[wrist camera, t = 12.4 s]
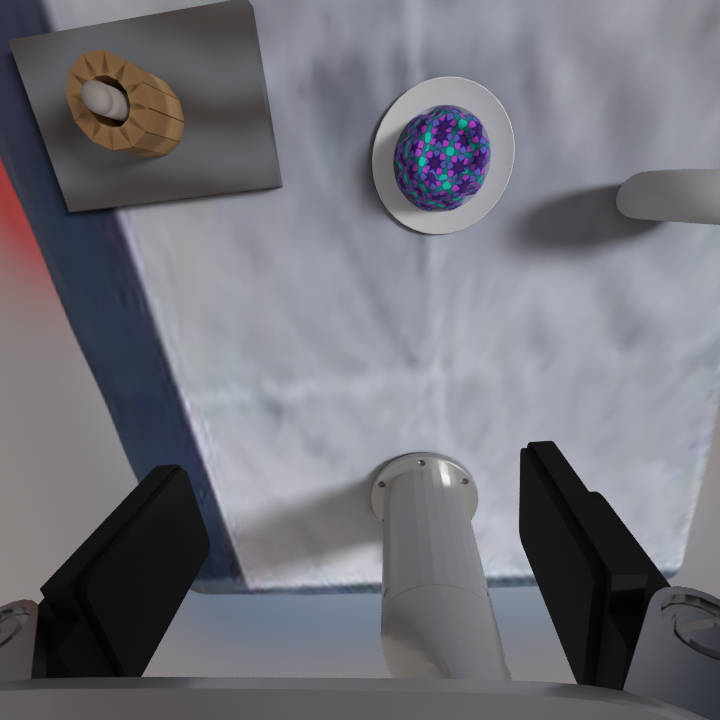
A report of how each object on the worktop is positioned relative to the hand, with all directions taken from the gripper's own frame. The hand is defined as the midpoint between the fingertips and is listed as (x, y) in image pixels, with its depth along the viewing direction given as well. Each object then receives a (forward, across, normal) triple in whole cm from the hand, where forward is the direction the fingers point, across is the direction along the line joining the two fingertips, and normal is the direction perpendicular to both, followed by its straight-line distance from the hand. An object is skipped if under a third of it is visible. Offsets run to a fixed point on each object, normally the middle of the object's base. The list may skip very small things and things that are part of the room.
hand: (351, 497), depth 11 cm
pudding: (+30, -6, -11) cm, 32 cm away
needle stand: (+29, +18, -18) cm, 38 cm away
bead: (+27, +18, -18) cm, 37 cm away
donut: (+30, -24, -6) cm, 39 cm away
